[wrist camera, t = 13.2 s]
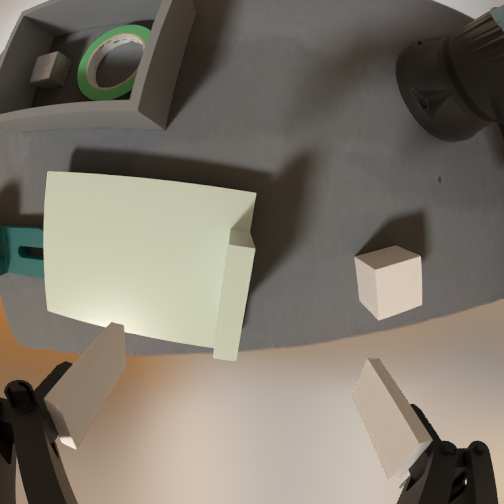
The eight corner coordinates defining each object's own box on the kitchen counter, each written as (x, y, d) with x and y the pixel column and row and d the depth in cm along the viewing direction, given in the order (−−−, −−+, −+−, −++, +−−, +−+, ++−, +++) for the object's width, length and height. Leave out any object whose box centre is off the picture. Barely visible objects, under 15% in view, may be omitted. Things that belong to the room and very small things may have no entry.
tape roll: (78, 109, 28) (68, 105, 25) (97, 39, 25) (89, 32, 23) (154, 103, 28) (147, 97, 26) (171, 29, 26) (166, 19, 23)
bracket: (-7, 264, 32) (-37, 277, 24) (-10, 224, 30) (-43, 232, 22) (66, 275, 32) (33, 295, 25) (63, 226, 31) (26, 237, 23)
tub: (196, 13, 25) (184, -28, 16) (165, 130, 29) (137, 110, 20) (52, 32, 24) (22, 11, 15) (21, 132, 27) (-20, 126, 18)
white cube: (395, 244, 32) (421, 255, 27) (398, 288, 34) (422, 304, 28) (353, 256, 33) (375, 269, 27) (359, 300, 34) (378, 320, 28)
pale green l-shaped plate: (254, 192, 31) (264, 194, 20) (230, 338, 34) (230, 394, 24) (59, 171, 28) (4, 170, 18) (57, 303, 32) (14, 337, 22)
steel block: (72, 60, 26) (57, 51, 22) (64, 85, 26) (48, 77, 22) (52, 64, 25) (37, 56, 21) (45, 89, 26) (29, 82, 22)
